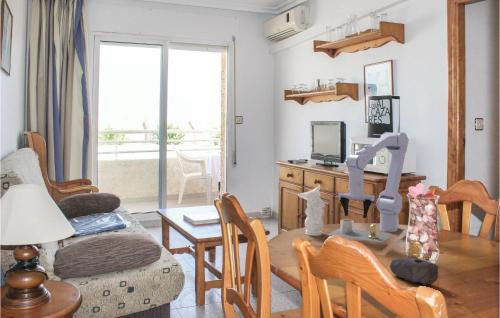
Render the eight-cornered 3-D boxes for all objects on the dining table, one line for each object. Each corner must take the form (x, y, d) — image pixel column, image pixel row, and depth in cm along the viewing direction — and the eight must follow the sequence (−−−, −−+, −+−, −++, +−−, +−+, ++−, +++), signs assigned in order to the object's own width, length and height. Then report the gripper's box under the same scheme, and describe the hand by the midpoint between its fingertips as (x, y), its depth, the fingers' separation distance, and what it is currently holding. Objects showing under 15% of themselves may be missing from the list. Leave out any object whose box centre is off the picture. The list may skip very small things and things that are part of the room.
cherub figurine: (318, 241, 177) (318, 187, 176) (290, 237, 184) (291, 185, 182) (329, 235, 188) (330, 184, 186) (302, 231, 194) (303, 182, 192)
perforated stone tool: (385, 275, 136) (385, 253, 136) (395, 272, 139) (395, 251, 139) (429, 290, 124) (430, 266, 124) (439, 286, 127) (440, 262, 127)
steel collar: (343, 230, 190) (343, 218, 190) (354, 231, 187) (355, 220, 187) (338, 232, 185) (339, 220, 185) (350, 234, 183) (351, 222, 182)
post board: (340, 230, 195) (340, 216, 195) (392, 237, 183) (393, 222, 183) (326, 238, 182) (327, 223, 181) (382, 246, 170) (383, 229, 169)
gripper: (335, 183, 178) (335, 216, 179) (371, 186, 170) (370, 220, 171) (341, 182, 184) (341, 213, 185) (376, 184, 176) (375, 217, 177)
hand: (355, 216), depth 178 cm, fingers open, 7 cm apart
